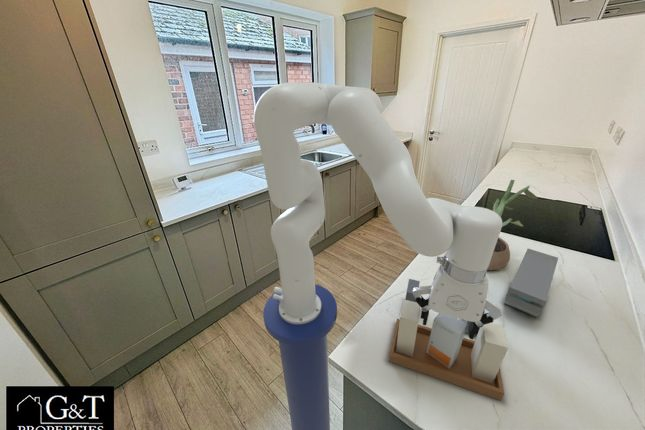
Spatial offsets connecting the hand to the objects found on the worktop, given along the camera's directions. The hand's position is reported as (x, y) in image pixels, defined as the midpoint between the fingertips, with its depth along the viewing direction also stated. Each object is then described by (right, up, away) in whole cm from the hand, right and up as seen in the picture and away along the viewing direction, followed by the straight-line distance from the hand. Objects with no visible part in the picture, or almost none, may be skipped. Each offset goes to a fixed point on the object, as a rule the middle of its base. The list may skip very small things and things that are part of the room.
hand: (446, 327), depth 60 cm
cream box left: (-7, -8, +7) cm, 13 cm away
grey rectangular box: (+34, -1, +21) cm, 40 cm away
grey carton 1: (-2, -3, +18) cm, 19 cm away
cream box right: (+8, -10, +1) cm, 13 cm away
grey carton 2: (+12, -5, +13) cm, 18 cm away
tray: (+1, -9, +4) cm, 11 cm away
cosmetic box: (+1, -9, +4) cm, 10 cm away
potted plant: (+35, +9, +41) cm, 54 cm away
